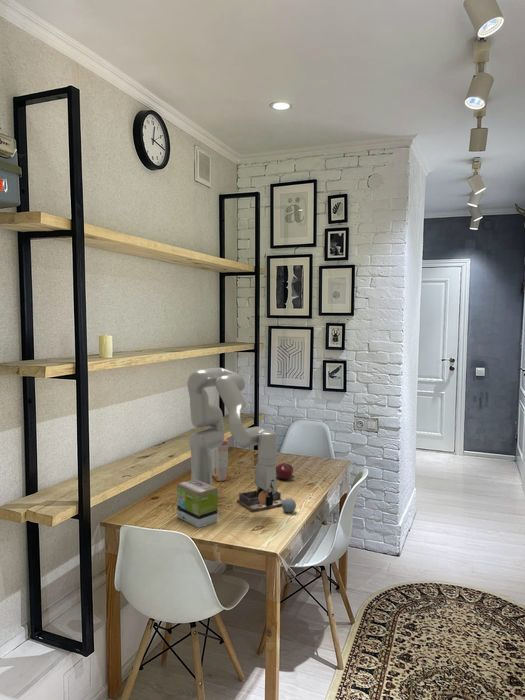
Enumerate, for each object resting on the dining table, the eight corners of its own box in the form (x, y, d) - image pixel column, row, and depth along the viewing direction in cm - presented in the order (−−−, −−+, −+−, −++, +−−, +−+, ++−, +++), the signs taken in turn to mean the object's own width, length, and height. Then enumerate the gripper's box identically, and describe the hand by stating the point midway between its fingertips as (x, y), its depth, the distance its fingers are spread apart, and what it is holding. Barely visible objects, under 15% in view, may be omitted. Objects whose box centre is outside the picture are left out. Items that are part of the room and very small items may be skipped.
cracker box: (228, 480, 269) (228, 440, 268) (216, 482, 267) (217, 441, 265) (220, 473, 282) (220, 434, 281) (209, 474, 280) (209, 435, 278)
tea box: (176, 517, 219) (176, 482, 218) (195, 511, 226) (195, 477, 225) (198, 528, 208) (198, 492, 207) (218, 522, 215) (218, 486, 214)
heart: (271, 479, 269) (290, 483, 268) (274, 464, 269) (293, 468, 268) (274, 473, 281) (292, 476, 280) (276, 459, 281) (294, 462, 280)
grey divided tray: (252, 512, 226) (252, 502, 226) (237, 502, 238) (237, 493, 238) (287, 505, 235) (287, 496, 235) (270, 495, 247) (271, 487, 247)
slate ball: (286, 515, 223) (287, 501, 223) (279, 511, 228) (279, 497, 228) (298, 513, 226) (298, 499, 226) (290, 508, 231) (290, 495, 231)
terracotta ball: (262, 508, 216) (263, 494, 216) (255, 503, 221) (255, 489, 221) (274, 506, 219) (275, 491, 219) (267, 501, 225) (267, 487, 224)
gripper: (248, 456, 224) (247, 497, 226) (269, 467, 210) (268, 511, 211) (263, 454, 228) (262, 494, 230) (285, 465, 213) (283, 508, 215)
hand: (264, 502), depth 220 cm, fingers closed on terracotta ball, 5 cm apart
